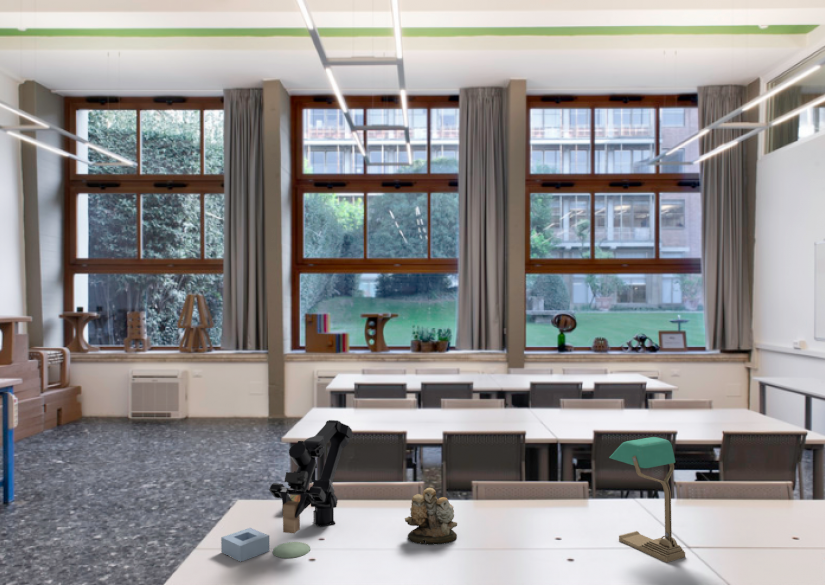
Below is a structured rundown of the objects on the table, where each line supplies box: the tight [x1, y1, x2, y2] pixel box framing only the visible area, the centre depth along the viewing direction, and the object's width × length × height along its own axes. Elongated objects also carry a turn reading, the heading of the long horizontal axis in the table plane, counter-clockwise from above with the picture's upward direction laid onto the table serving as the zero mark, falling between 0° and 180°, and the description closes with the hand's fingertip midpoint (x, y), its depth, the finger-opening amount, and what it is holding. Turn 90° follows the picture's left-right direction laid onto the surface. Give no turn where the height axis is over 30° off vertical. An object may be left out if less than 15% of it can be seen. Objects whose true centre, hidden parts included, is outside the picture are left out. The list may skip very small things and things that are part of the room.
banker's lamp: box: [609, 436, 686, 563], centre depth 201 cm, size 16×21×35 cm
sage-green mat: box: [272, 541, 311, 559], centre depth 202 cm, size 12×12×1 cm
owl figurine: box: [404, 487, 458, 546], centre depth 211 cm, size 18×12×17 cm, turn 95°
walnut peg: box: [282, 501, 301, 534], centre depth 202 cm, size 4×4×9 cm
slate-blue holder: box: [220, 527, 270, 563], centre depth 201 cm, size 11×11×5 cm
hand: (289, 516), depth 201 cm, fingers closed on walnut peg, 4 cm apart
